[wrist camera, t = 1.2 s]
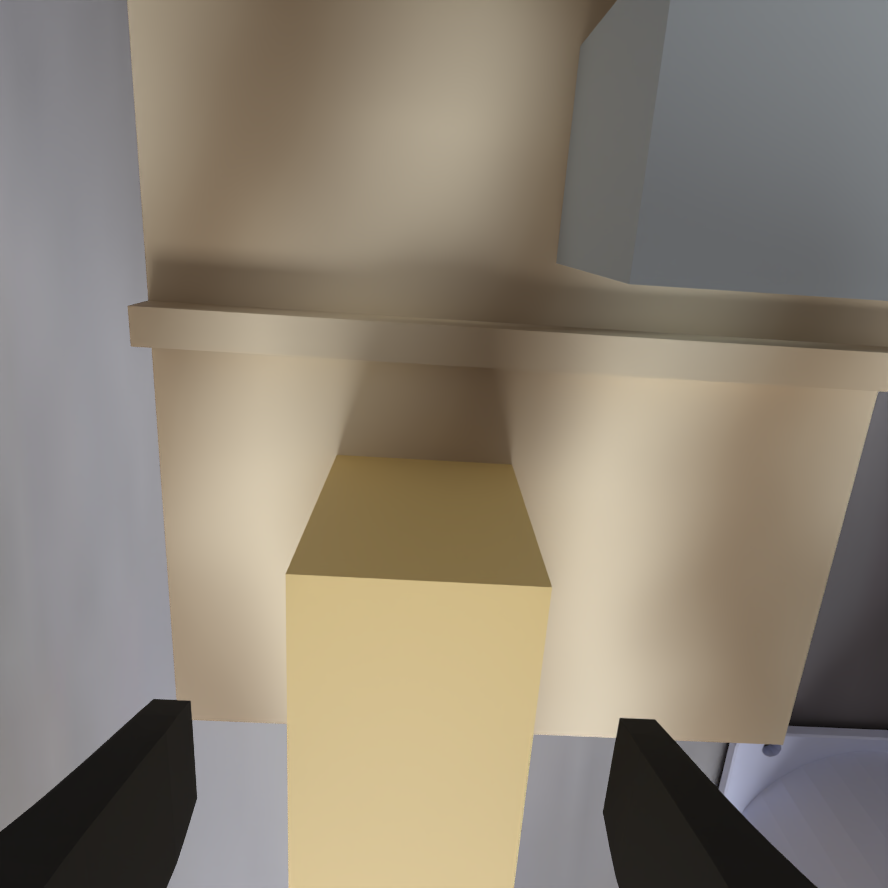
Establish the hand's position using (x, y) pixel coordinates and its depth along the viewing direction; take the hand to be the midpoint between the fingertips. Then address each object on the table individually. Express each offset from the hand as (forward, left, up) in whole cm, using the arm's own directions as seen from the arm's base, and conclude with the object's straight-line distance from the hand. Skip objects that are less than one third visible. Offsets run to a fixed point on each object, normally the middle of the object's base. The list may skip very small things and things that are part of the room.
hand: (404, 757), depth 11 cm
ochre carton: (0, 0, -5) cm, 5 cm away
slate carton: (-6, -10, -5) cm, 13 cm away
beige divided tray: (-2, -5, -6) cm, 8 cm away
